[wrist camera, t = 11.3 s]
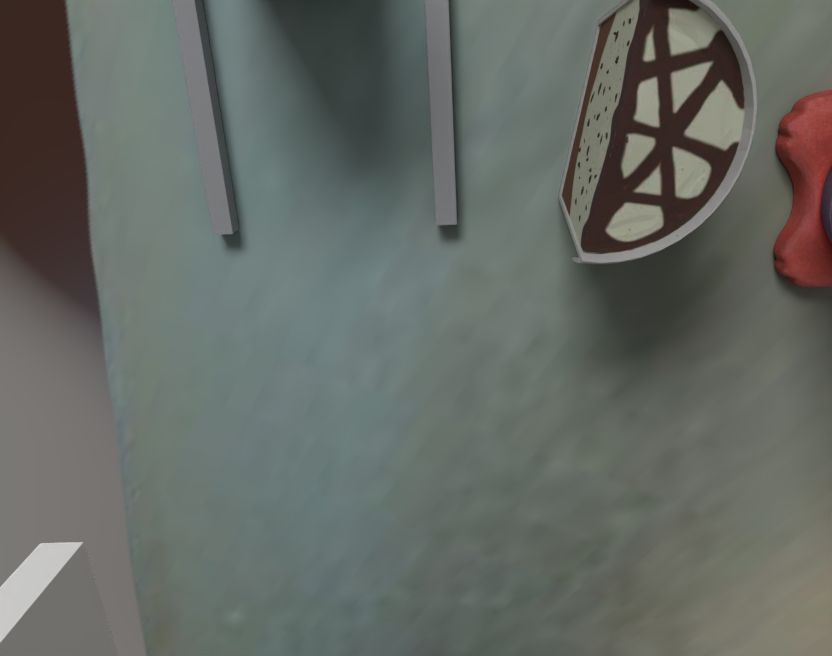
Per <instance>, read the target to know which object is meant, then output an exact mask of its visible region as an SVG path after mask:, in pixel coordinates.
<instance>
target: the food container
mask: <svg viewBox="0 0 832 656" xmlns="http://www.w3.org/2000/svg"><path fill="white" fill-rule="evenodd" d="M756 115H757V91H756V80H755V76H754V72H753V68H752V63H751V59H750V57H749V55H748V52H747V50H746V48H745V45H744V43H743V41H742V38H741V37H740V35H739V34H738V32H737V31H736V29H735V28H734V26H733V25H732V23H731V21H730V20H729V19H728V18H727V17H726V15H725V14H724V13H723V12H722V11H721V10H720V9H719V8H718V7H717V6H716V5H715V4H714V3H713V2H712V1H710V0H623V1H622V2H621V3H619V4H618V5H617V6H616V7H615V8H613V9H612V10H611V11H610V12H608V13H607V14H606V15H605V16H604V17H602V18H601V19H600V20H599V21H598V25H597V29H596V33H595V38H594V42H593V46H592V51H591V55H590V60H589V64H588V68H587V73H586V77H585V81H584V86H583V90H582V95H581V99H580V103H579V108H578V112H577V117H576V121H575V125H574V130H573V134H572V138H571V143H570V147H569V152H568V156H567V160H566V165H565V169H564V174H563V178H562V182H561V187H560V191H559V195H558V198H559V201H560V204H561V207H562V210H563V213H564V216H565V218H566V221H567V224H568V227H569V230H570V233H571V236H572V238H573V241H574V244H575V247H576V250H577V253H578V256H579V257H573V258H572V261H575V262H577V263H584V264H596V265H598V264H614V263H622V262H626V261H631V260H636V259H640V258H643V257H645V256H648V255H651V254H654V253H657V252H659V251H661V250H663V249H665V248H667V247H669V246H671V245H673V244H674V243H676V242H678V241H680V240H681V239H683V238H684V237H685V236H687V235H688V234H690V233H691V232H692V231H694V230H695V229H696V228H698V227H699V226H700V225H701V224H702V223H703V222H704V221H705V220H706V219H707V218H708V217H709V216H710V215H711V214H712V213H714V211H715V210H716V209H717V208H718V206H719V205H720V204H721V203H722V201H723V200H724V199H725V198H726V196H727V195H728V194H729V192H730V191H731V189H732V187H733V185H734V184H735V182H736V180H737V179H738V177H739V175H740V174H741V171H742V169H743V166H744V164H745V162H746V159H747V157H748V154H749V152H750V148H751V144H752V140H753V136H754V132H755V126H756Z"/></svg>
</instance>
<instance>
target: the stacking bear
mask: <svg viewBox="0 0 832 656" xmlns="http://www.w3.org/2000/svg"><path fill="white" fill-rule="evenodd" d="M776 149H777V153H778V156H779V157H780V159H781V160H782V162H783V163H784V165H785V166H786V168H787V170H788V171H789V174H790V176H791V179H792V183H793V188H794V200H793V207H792V212H791V215H790V218H789V220H788V222H787V223H786V225H785V227H784V228H783V230H782V232H781V233H780V235H779V236H778V238H777V240H776V243H775V245H774V255H775V256H776V261H775V268H776V270H777V271H778V272H779V273H780V274H781V275H784V276H786V278H787V279H788V280H789V281H790V282H791V283H793V284H795V285H798V286H802V287H827V286H832V90H828V91H823V92H819V93H815V94H812V95H809V96H806V97H804V98H802V99H800V100H799V101H797V102H796V103H795V105H794V106H793V108H792V110H791V112H790V113H788V114H787V115H785V116H784V117H783V118H782V120H781V122H780V124H779V136H778V138H777V142H776Z"/></svg>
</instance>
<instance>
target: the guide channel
mask: <svg viewBox="0 0 832 656" xmlns="http://www.w3.org/2000/svg"><path fill="white" fill-rule="evenodd" d="M172 3H173V9H174V15H175V20H176V26H177V32H178V37H179V43H180V49H181V55H182V60H183V66H184V72H185V77H186V83H187V89H188V95H189V100H190V106H191V112H192V117H193V123H194V129H195V134H196V140H197V146H198V152H199V157H200V163H201V169H202V174H203V180H204V186H205V192H206V197H207V203H208V209H209V214H210V220H211V226H212V232H213V235H222V234H234V233H235V232H236V231H238V230H239V225H238V218H237V212H236V206H235V200H234V193H233V187H232V181H231V175H230V168H229V162H228V156H227V150H226V143H225V137H224V131H223V125H222V118H221V112H220V106H219V100H218V93H217V87H216V81H215V75H214V68H213V62H212V56H211V50H210V43H209V37H208V31H207V25H206V18H205V12H204V6H203V0H172ZM425 14H426V35H427V55H428V75H429V95H430V116H431V136H432V156H433V176H434V197H435V217H436V225H457V202H456V175H455V149H454V122H453V95H452V68H451V41H450V15H449V0H425Z"/></svg>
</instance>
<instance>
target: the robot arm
mask: <svg viewBox="0 0 832 656" xmlns="http://www.w3.org/2000/svg"><path fill="white" fill-rule="evenodd" d="M0 656H118V653H117V649H116V646H115V643H114V640H113V636H112V633H111V630H110V626H109V623H108V620H107V617H106V614H105V610H104V607H103V604H102V600H101V597H100V594H99V591H98V588H97V584H96V581H95V578H94V574H93V571H92V568H91V565H90V561H89V558H88V555H87V552H86V548H85V545H84V542H69V543H41V544H40V545H39V546H38V547H37V548H36V549H35V550H34V551H33V552H32V553H31V554H30V555H29V557H27V559H26V560H25V561H24V562H23V563H22V564H21V565H20V566H19V567H18V568H17V570H16V571H15V572H14V573H13V574H12V575H11V576H10V577H9V578H8V579H7V580H6V582H5V583H4V584H3V585H2V586H1V587H0Z"/></svg>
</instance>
